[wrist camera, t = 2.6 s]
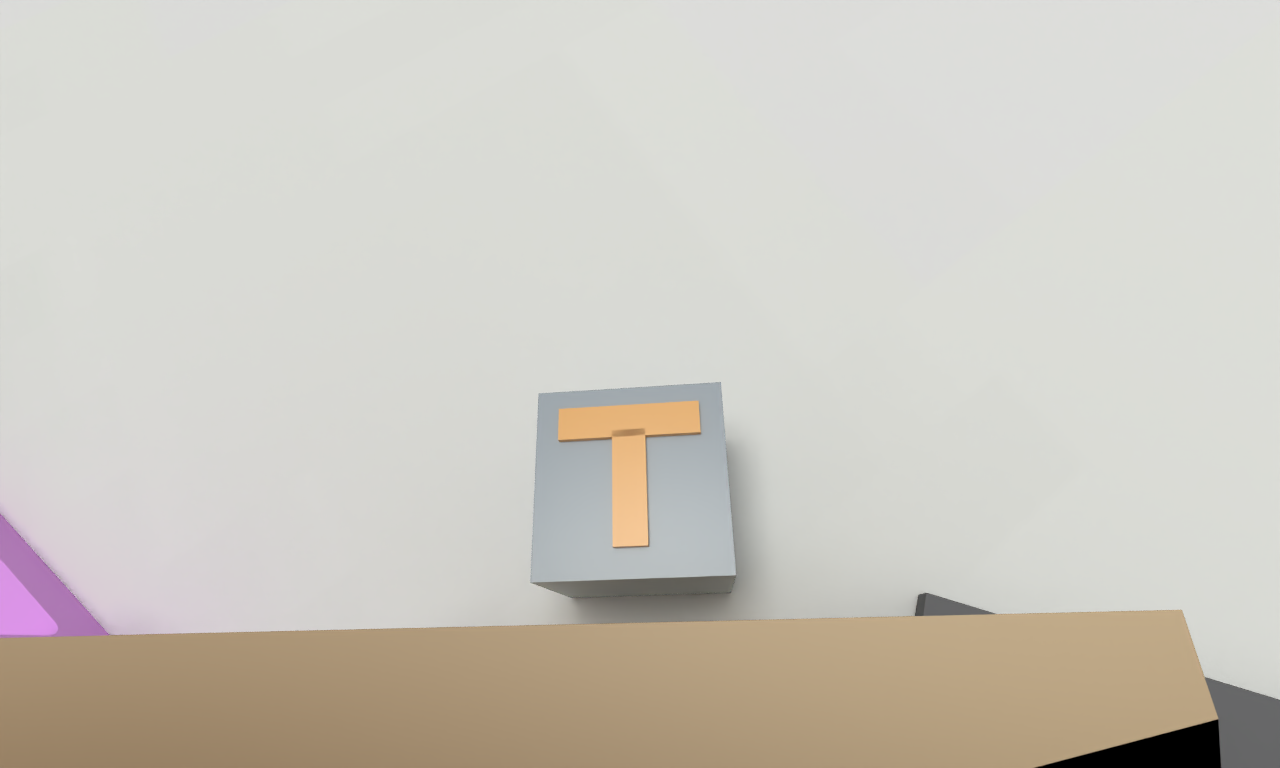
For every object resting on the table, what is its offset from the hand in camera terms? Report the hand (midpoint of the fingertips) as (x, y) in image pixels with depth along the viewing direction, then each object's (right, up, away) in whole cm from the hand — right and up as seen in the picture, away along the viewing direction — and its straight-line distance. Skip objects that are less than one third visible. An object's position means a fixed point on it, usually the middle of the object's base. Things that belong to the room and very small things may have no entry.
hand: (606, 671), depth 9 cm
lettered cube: (+1, 0, +8) cm, 8 cm away
